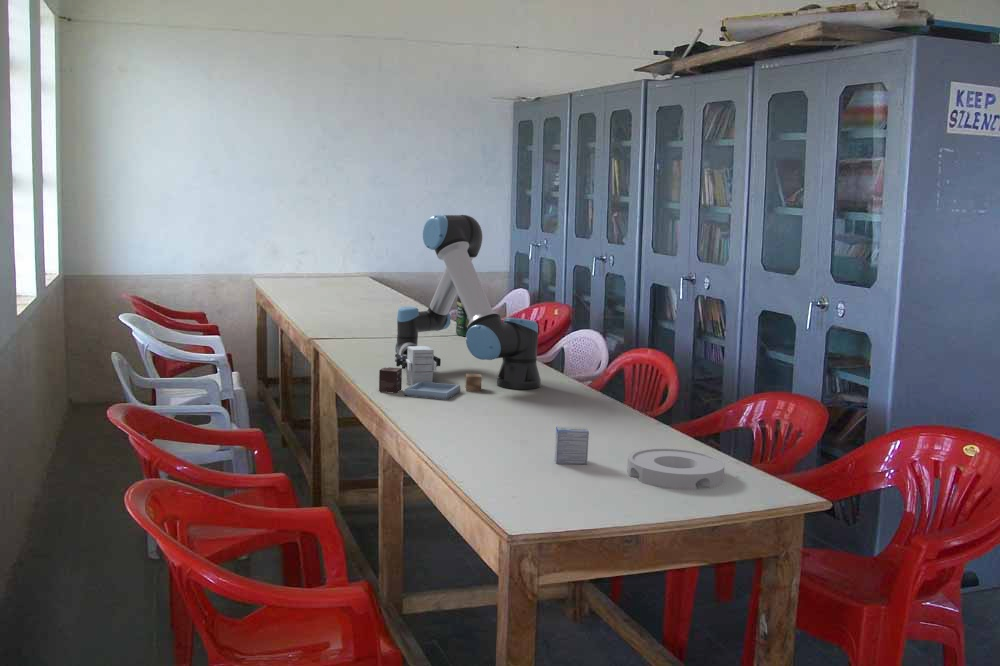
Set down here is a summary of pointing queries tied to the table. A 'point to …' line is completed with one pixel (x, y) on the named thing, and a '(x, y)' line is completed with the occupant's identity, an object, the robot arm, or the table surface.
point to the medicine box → (571, 445)
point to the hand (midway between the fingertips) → (422, 366)
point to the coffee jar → (461, 319)
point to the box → (390, 379)
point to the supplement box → (420, 364)
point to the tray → (432, 390)
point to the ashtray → (675, 468)
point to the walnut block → (473, 382)
